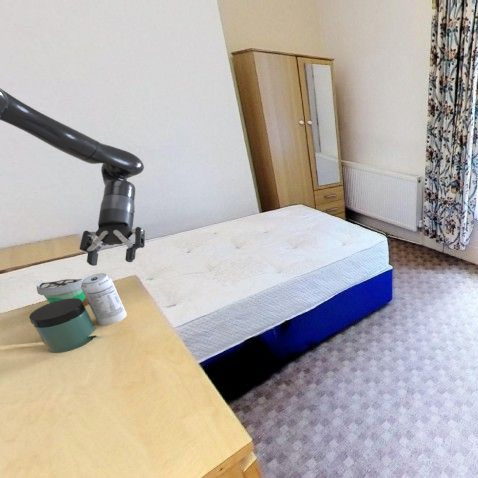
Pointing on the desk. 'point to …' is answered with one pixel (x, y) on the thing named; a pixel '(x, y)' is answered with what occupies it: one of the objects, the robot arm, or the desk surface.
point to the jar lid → (57, 312)
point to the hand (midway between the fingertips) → (111, 263)
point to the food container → (62, 290)
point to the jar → (68, 333)
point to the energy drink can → (103, 299)
